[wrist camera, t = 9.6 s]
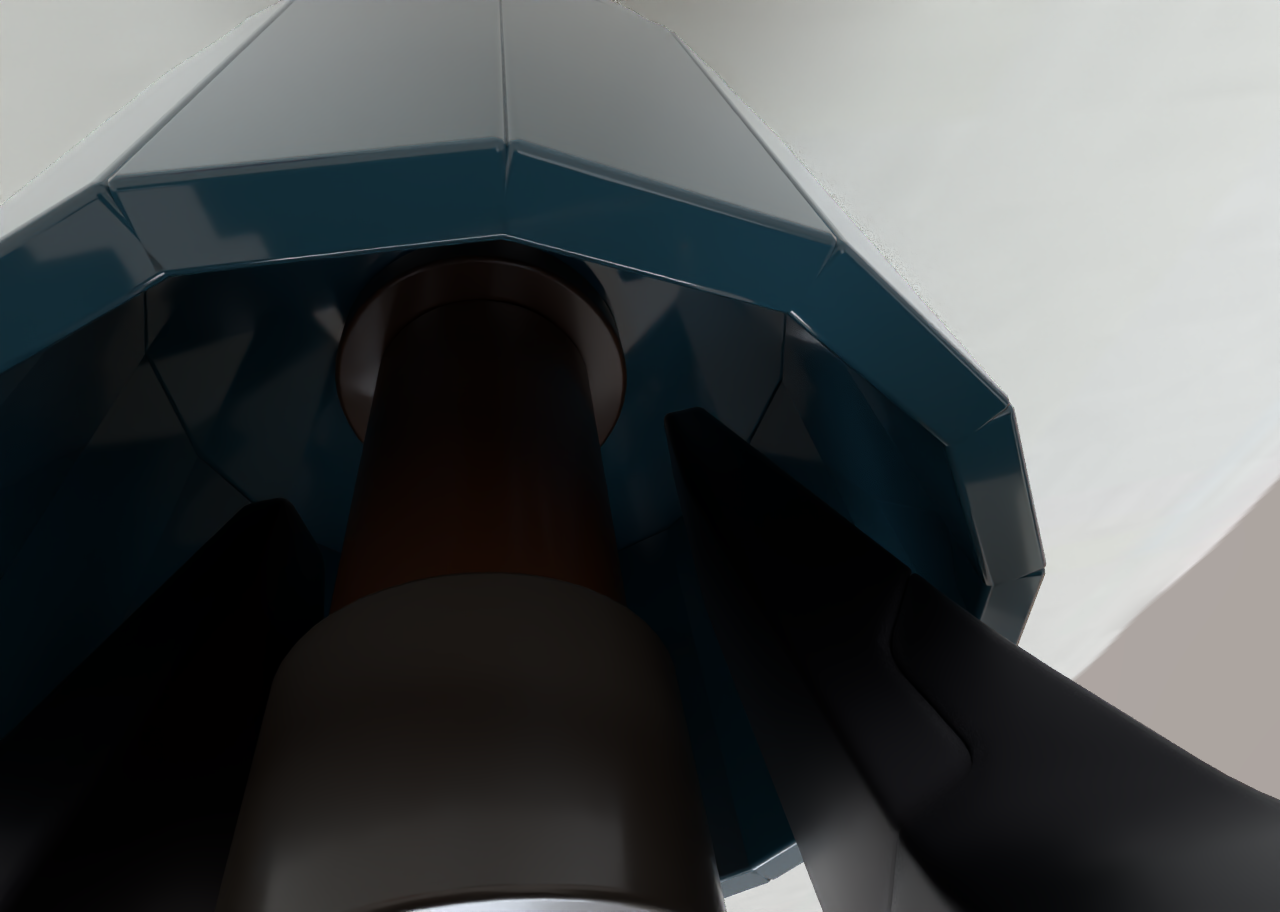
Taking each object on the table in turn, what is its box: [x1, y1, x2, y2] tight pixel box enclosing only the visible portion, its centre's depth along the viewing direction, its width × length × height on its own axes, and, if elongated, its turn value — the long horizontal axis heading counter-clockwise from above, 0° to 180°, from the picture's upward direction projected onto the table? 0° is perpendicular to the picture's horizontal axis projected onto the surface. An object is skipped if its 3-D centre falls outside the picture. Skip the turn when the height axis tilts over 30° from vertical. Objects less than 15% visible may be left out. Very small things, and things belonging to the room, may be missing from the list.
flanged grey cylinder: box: [214, 240, 727, 912], centre depth 8 cm, size 4×4×7 cm
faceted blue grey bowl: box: [0, 0, 1046, 898], centre depth 9 cm, size 9×9×6 cm
